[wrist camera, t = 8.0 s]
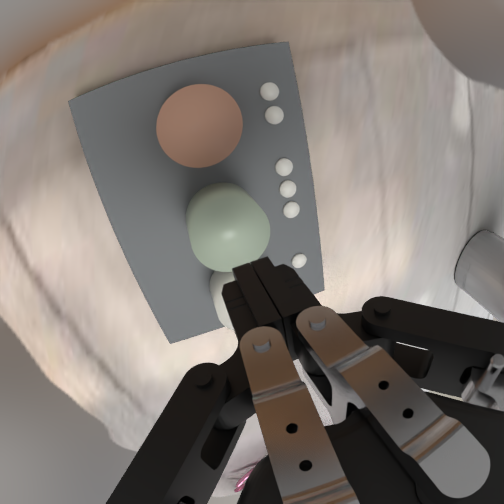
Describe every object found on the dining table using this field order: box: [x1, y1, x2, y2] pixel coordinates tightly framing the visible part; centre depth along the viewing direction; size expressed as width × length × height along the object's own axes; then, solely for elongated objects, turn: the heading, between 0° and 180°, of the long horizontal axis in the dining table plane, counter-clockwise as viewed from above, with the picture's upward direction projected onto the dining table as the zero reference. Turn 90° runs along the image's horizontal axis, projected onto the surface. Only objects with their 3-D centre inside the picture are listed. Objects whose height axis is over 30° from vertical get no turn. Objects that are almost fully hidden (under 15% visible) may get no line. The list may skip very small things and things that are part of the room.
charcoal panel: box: [68, 42, 324, 344], centre depth 21 cm, size 14×20×2 cm
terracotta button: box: [156, 84, 243, 168], centre depth 16 cm, size 4×4×3 cm
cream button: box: [210, 271, 235, 330], centre depth 22 cm, size 4×4×3 cm
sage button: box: [186, 182, 270, 272], centre depth 18 cm, size 4×4×3 cm
